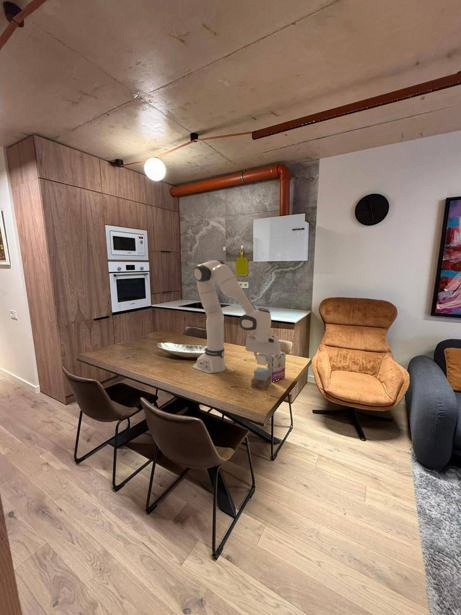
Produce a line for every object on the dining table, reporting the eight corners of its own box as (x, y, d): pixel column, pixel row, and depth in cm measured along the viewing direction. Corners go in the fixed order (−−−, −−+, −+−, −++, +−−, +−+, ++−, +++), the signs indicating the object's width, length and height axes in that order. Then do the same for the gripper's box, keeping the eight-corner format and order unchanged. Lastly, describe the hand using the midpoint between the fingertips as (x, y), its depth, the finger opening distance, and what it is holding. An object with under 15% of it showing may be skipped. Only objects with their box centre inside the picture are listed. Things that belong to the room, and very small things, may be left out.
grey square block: (254, 378, 148) (254, 371, 147) (257, 374, 154) (257, 367, 153) (265, 381, 145) (266, 373, 144) (269, 376, 151) (269, 369, 150)
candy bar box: (279, 375, 164) (280, 350, 161) (285, 378, 160) (286, 352, 157) (266, 379, 157) (267, 354, 154) (272, 382, 153) (273, 356, 150)
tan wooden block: (251, 387, 148) (251, 379, 147) (256, 381, 156) (256, 373, 155) (266, 391, 144) (266, 382, 143) (270, 384, 152) (271, 376, 151)
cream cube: (256, 364, 147) (256, 355, 146) (259, 361, 151) (260, 352, 150) (265, 365, 144) (265, 357, 144) (268, 362, 149) (268, 354, 148)
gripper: (243, 336, 147) (243, 359, 149) (278, 340, 138) (278, 365, 140) (248, 333, 152) (247, 355, 155) (281, 337, 143) (281, 361, 146)
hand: (262, 360), depth 147 cm, fingers closed on cream cube, 5 cm apart
